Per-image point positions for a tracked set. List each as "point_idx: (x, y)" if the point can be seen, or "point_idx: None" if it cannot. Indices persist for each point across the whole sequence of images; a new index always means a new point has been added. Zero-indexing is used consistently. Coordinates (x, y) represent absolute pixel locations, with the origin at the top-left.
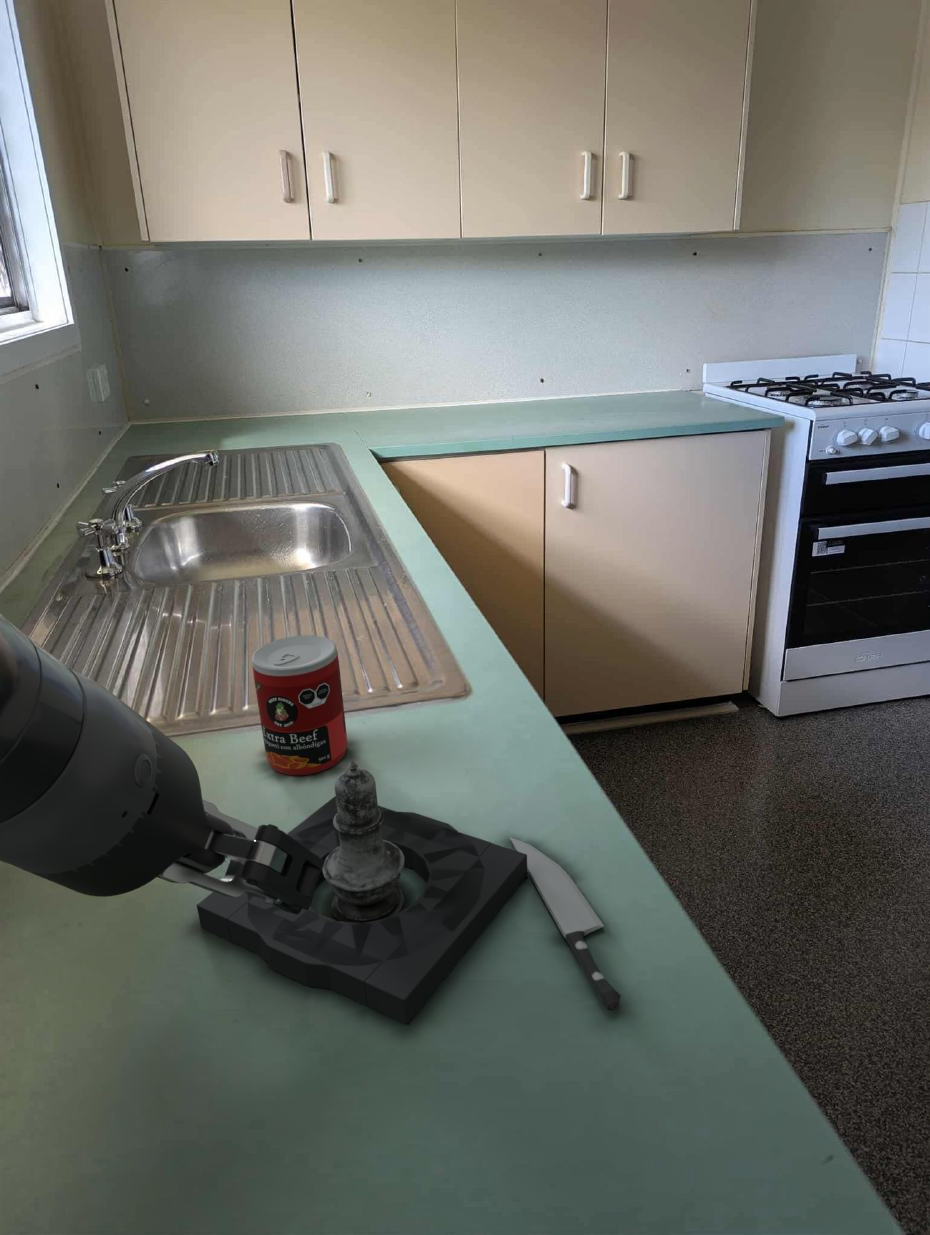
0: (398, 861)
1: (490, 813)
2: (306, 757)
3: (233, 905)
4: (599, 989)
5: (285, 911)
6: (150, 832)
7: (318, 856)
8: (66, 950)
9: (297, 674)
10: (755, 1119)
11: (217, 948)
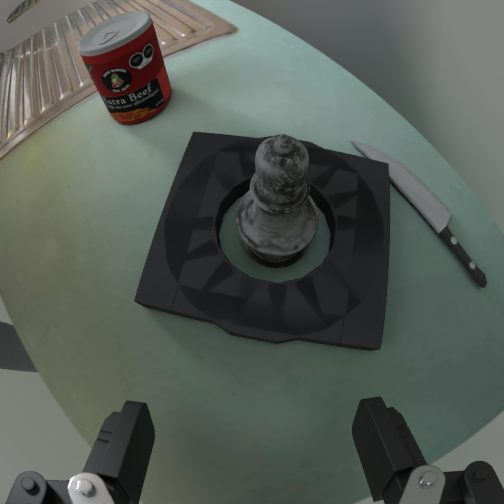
0: (311, 205)
1: (319, 119)
2: (146, 107)
3: (167, 292)
4: (476, 275)
5: (353, 439)
6: None
7: (488, 471)
8: (61, 353)
9: (124, 44)
10: None
11: (170, 325)
